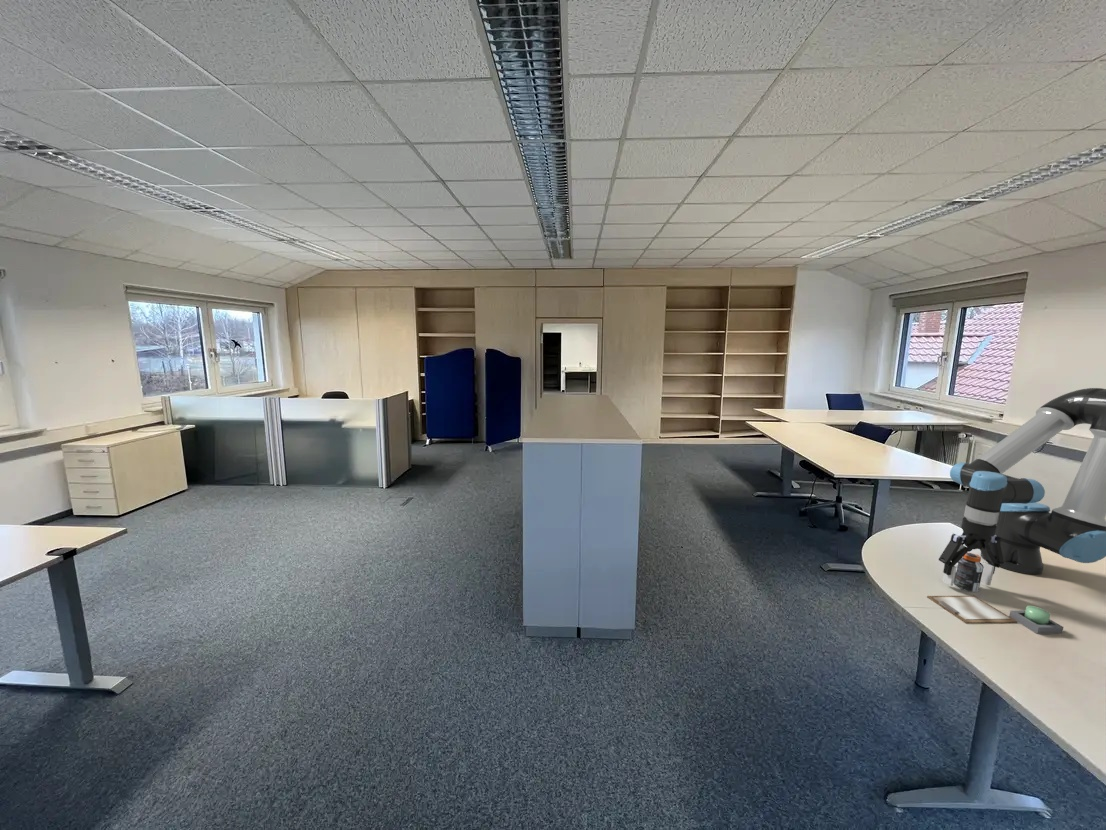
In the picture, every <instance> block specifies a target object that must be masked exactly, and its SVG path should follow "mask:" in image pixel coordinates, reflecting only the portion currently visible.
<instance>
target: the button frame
mask: <svg viewBox="0 0 1106 830" xmlns="http://www.w3.org/2000/svg"><path fill="white" fill-rule="evenodd" d="M1025 611H1026V609H1024V610H1010V611H1009V615H1008V616H1009V617H1011V618H1012V619H1014V620H1016V621H1017V623H1018V624H1020V625H1022V626H1023V627H1024V628H1027V629H1029V631H1031V632H1033V633H1035V634H1037V635H1044V634H1045V635H1049V634H1050V635H1051V634H1052V635H1054V634H1055V635H1056V634H1059V635H1060V634H1063V632H1064V626H1062V625H1061V624H1059V623H1057V622H1055V621H1053V620H1052V619H1051V618H1049V622H1048V625H1038V624H1036V623H1034V622H1032V621H1031V620H1029V619H1027V618H1026V617H1024V615H1025Z"/></svg>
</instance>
